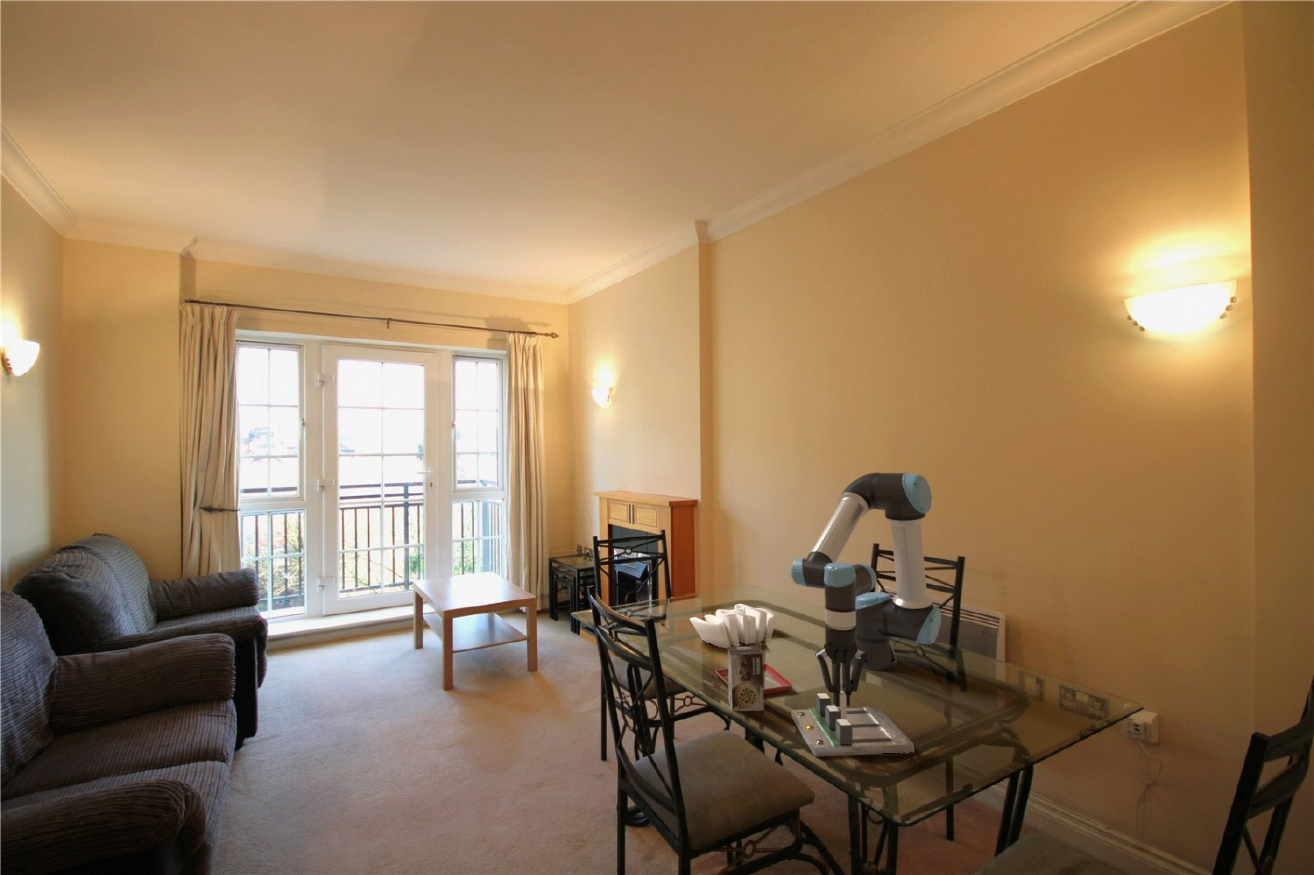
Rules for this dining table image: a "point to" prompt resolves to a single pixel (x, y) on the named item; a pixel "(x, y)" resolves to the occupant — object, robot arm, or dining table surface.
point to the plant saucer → (778, 677)
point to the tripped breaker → (832, 716)
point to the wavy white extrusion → (735, 626)
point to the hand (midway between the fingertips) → (841, 718)
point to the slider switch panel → (868, 733)
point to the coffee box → (745, 678)
